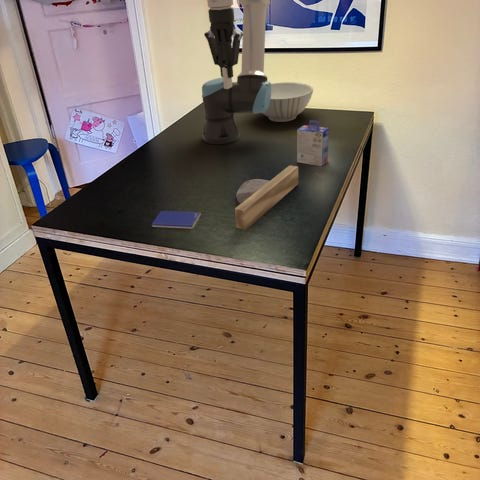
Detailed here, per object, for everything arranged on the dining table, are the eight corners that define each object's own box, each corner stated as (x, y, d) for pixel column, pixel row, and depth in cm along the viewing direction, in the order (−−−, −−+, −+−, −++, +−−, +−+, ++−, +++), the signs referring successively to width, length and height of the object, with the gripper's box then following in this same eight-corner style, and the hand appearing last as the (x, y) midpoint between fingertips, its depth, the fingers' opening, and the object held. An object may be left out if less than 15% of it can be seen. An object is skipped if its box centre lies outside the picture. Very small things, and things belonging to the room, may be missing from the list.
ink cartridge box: (329, 161, 168) (330, 120, 160) (322, 167, 164) (323, 126, 157) (303, 157, 173) (303, 117, 165) (296, 162, 169) (296, 122, 161)
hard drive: (200, 211, 141) (161, 210, 144) (192, 225, 135) (151, 223, 137) (201, 216, 142) (162, 214, 145) (193, 230, 135) (152, 228, 138)
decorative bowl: (290, 131, 197) (290, 101, 190) (240, 121, 212) (238, 94, 205) (324, 113, 214) (324, 85, 207) (275, 105, 229) (274, 79, 222)
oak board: (236, 227, 134) (234, 208, 131) (290, 182, 156) (289, 165, 153) (245, 229, 132) (243, 210, 129) (298, 183, 154) (298, 166, 151)
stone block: (236, 209, 147) (266, 205, 144) (231, 194, 145) (262, 190, 142) (246, 193, 157) (275, 189, 153) (242, 179, 155) (272, 175, 151)
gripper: (195, 9, 142) (205, 89, 155) (231, 9, 136) (238, 92, 148) (210, 5, 147) (218, 82, 160) (245, 5, 141) (251, 86, 154)
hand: (228, 87), depth 154 cm, fingers closed
